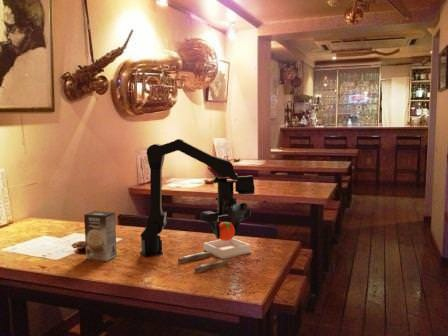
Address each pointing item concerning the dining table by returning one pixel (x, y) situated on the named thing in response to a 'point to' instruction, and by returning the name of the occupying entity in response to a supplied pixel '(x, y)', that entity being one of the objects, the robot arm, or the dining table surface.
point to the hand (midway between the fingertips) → (226, 237)
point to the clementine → (226, 231)
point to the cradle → (204, 266)
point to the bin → (227, 248)
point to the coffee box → (100, 235)
